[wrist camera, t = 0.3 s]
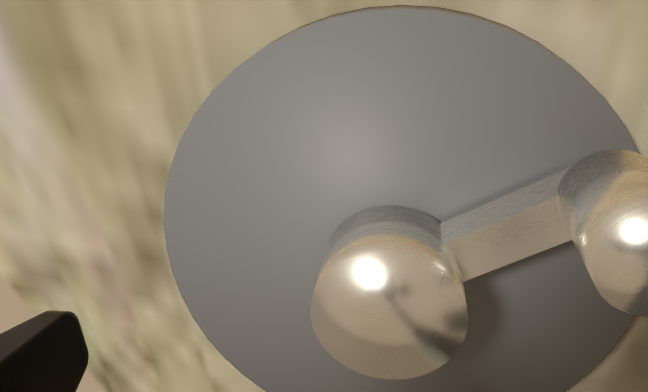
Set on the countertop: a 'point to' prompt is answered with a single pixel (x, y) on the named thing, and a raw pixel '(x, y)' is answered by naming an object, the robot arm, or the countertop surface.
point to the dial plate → (386, 192)
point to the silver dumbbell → (474, 262)
